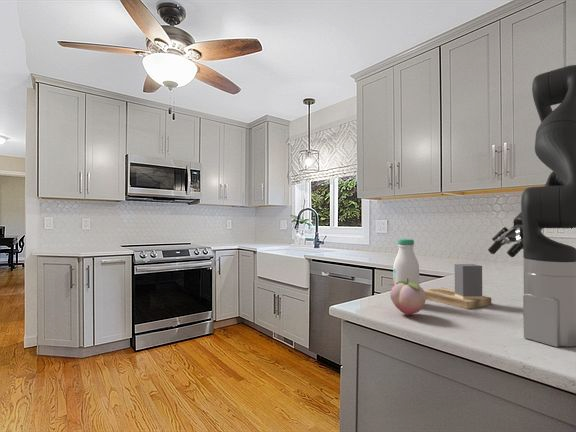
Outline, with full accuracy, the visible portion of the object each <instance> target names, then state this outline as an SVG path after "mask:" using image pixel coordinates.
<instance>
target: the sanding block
mask: <svg viewBox="0 0 576 432" xmlns="http://www.w3.org/2000/svg"><path fill="white" fill-rule="evenodd" d="M454 290H455V296H457V297H459V298H461V299H482V296H483V265H478V264H476V263H454Z"/></svg>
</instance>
